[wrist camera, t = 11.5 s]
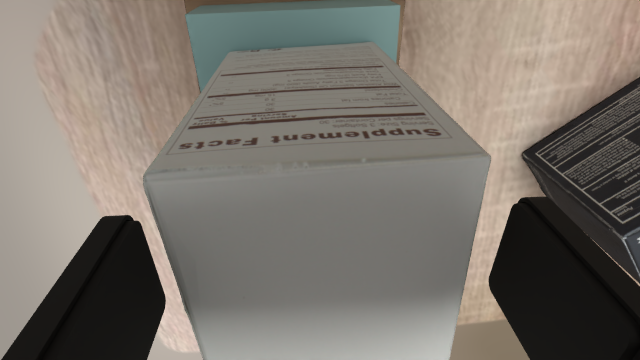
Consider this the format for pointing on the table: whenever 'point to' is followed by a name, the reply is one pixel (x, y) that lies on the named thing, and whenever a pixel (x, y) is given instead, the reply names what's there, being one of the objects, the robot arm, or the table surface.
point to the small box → (598, 174)
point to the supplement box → (318, 209)
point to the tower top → (288, 28)
